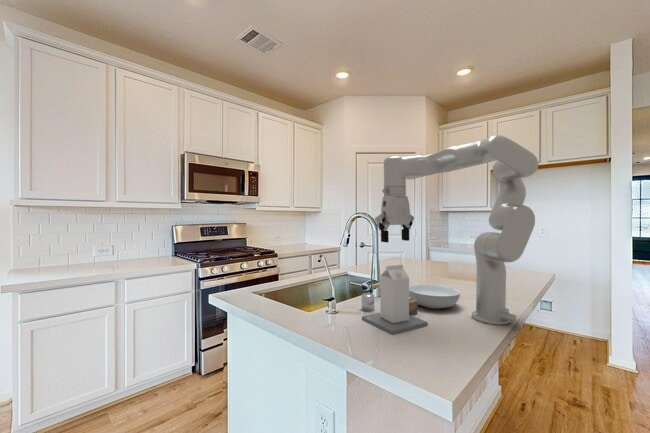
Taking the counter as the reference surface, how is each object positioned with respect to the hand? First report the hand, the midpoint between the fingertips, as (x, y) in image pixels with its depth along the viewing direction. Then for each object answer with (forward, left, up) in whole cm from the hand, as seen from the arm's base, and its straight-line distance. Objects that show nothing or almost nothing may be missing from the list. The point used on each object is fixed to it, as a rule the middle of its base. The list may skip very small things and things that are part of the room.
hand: (395, 241), depth 110 cm
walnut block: (+5, -12, -29) cm, 32 cm away
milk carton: (0, 0, -28) cm, 28 cm away
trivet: (0, 0, -29) cm, 29 cm away
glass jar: (+16, -1, -29) cm, 33 cm away
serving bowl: (+7, -28, -29) cm, 41 cm away
